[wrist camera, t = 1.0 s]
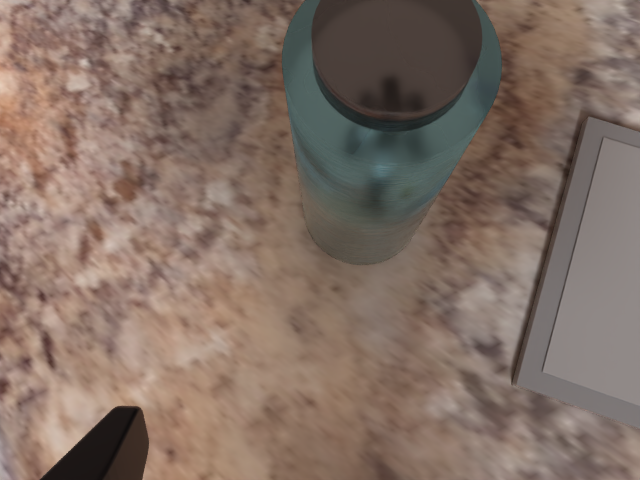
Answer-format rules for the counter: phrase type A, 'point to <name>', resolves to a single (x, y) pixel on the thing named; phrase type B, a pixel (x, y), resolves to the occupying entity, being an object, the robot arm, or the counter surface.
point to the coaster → (591, 284)
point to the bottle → (383, 113)
